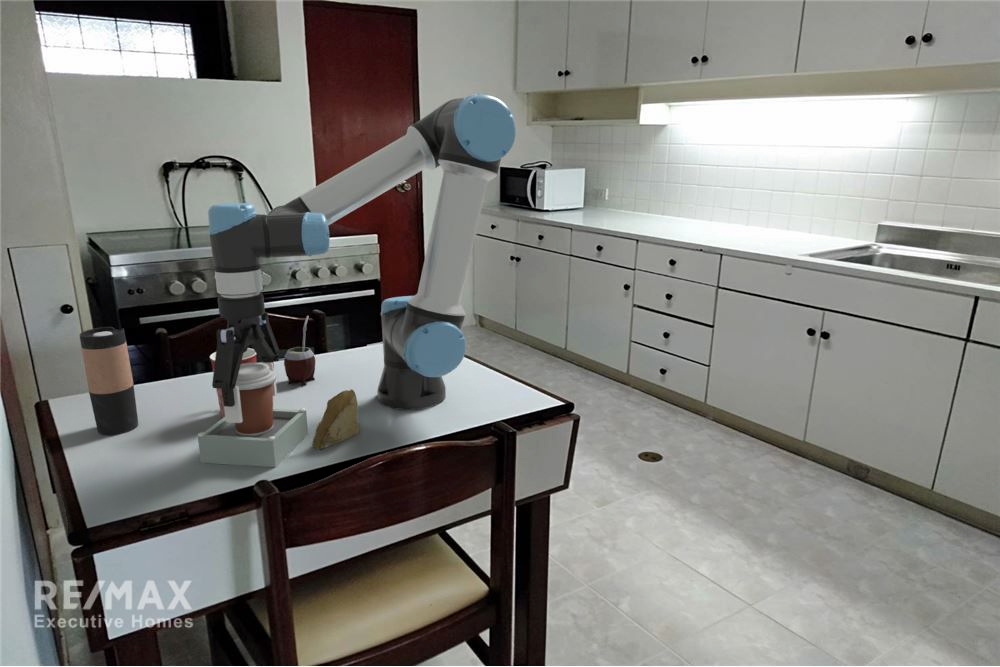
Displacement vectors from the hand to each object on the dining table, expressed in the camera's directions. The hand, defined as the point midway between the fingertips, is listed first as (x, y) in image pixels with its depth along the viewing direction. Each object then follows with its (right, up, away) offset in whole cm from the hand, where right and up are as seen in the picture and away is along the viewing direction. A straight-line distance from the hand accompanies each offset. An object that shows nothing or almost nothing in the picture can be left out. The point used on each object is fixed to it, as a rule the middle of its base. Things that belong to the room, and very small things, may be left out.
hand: (252, 407), depth 121 cm
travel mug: (-31, -5, +11) cm, 33 cm away
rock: (+14, -7, +6) cm, 17 cm away
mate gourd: (-2, +2, +37) cm, 38 cm away
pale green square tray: (0, -8, +2) cm, 8 cm away
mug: (-10, -3, +19) cm, 22 cm away
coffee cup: (0, -4, +1) cm, 5 cm away
